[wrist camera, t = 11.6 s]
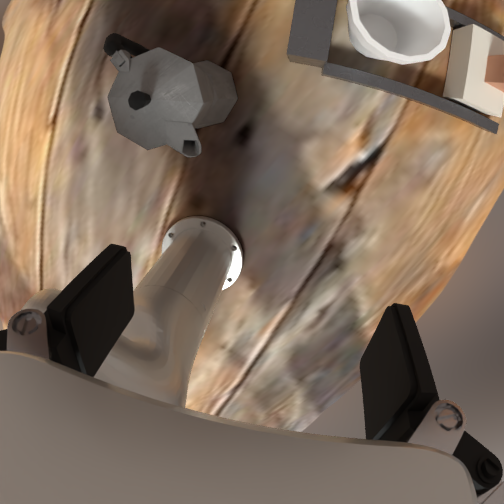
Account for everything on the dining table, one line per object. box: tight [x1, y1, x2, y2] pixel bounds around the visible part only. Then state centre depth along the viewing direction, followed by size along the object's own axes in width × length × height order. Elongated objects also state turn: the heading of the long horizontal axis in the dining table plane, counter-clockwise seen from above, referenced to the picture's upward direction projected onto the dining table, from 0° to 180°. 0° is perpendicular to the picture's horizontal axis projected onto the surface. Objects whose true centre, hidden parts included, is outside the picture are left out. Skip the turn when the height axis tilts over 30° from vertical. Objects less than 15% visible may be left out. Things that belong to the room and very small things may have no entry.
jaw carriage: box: [443, 24, 504, 118], centre depth 22 cm, size 10×6×18 cm, turn 172°
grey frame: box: [287, 0, 504, 134], centre depth 27 cm, size 14×28×8 cm, turn 82°
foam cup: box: [346, 0, 451, 65], centre depth 25 cm, size 10×9×13 cm
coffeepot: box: [104, 33, 238, 157], centre depth 29 cm, size 15×9×18 cm, turn 36°
